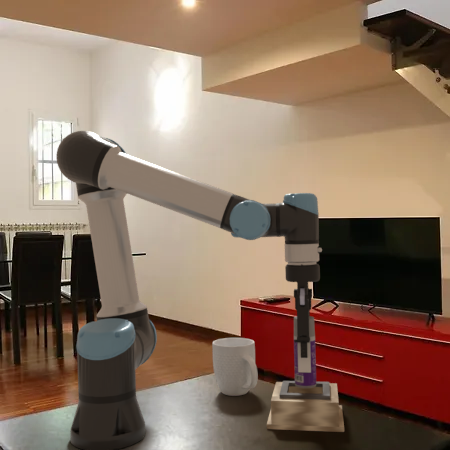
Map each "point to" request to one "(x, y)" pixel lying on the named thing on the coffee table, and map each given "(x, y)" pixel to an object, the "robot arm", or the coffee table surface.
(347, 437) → the coffee table surface
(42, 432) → the coffee table surface
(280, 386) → the socket
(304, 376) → the container
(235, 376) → the mug
